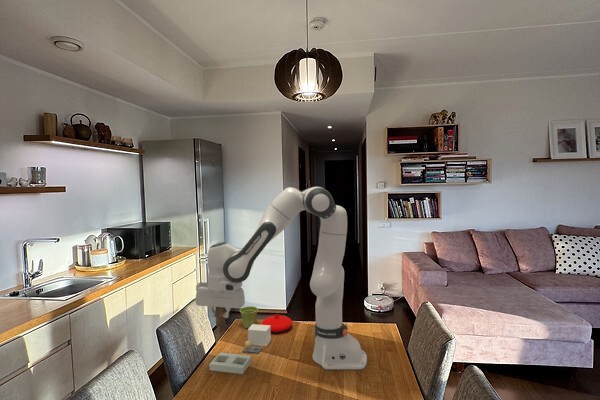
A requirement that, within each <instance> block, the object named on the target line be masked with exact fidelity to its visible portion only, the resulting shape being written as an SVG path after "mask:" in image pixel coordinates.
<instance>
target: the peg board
mask: <svg viewBox="0 0 600 400" xmlns="http://www.w3.org/2000/svg"><path fill="white" fill-rule="evenodd" d="M251 363H252V355H248V354H237V353H228V352H227V353H226V352H219V353H218V354H217V355H216V356H215V357H214V359H212V360H211V362H210V363H209V364H208V365H209V371H212V372H213V371H215V372H219V373H220V372H222V373H230V374H238V375H244V373H245V372H246V371H247V369H248V368H249V366H250V364H251Z"/></svg>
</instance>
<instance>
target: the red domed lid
mask: <svg viewBox="0 0 600 400" xmlns="http://www.w3.org/2000/svg"><path fill="white" fill-rule="evenodd" d="M260 325H270V326H271V333H272V332H273V333H279V332H283V331H286V330H289V329H290V328H291V327H292V326H293V320H292V319H291V318H290V317H288V316H285V315H280V314H278V313H276V314H274V315H272V316H268V317H266V318H264V319H263V320H262V321H261V324H260Z"/></svg>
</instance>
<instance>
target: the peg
mask: <svg viewBox="0 0 600 400" xmlns="http://www.w3.org/2000/svg"><path fill="white" fill-rule="evenodd" d="M214 309H215V312H216V317H215V327H218V328H220V327H224V326H225V325H226V318H223V317H224V316H223V314H224V313H225V312H226V308H225V307H214Z"/></svg>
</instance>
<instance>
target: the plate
mask: <svg viewBox="0 0 600 400" xmlns="http://www.w3.org/2000/svg"><path fill="white" fill-rule="evenodd" d="M262 349H263V346H254V345H251V343H250V341H248V340H245V341H244V348H243V349H242V350H241V351H242V353H243V354H252V355H255V354H256V355H259V354H260V353H261V351H262Z"/></svg>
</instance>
